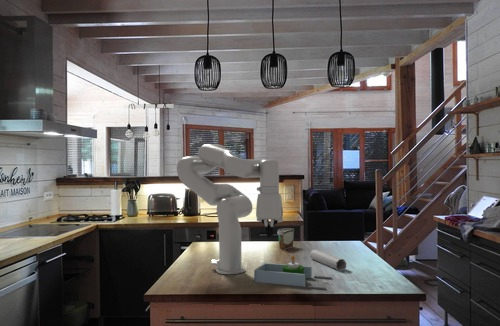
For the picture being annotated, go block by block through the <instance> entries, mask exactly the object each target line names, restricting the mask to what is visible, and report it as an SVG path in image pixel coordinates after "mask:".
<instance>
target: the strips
mask: <svg viewBox="0 0 500 326" xmlns="http://www.w3.org/2000/svg"><path fill="white" fill-rule="evenodd" d="M314 279H323V280H332V279H333V277H332V276H322V275H314ZM311 288H312V289H313V290H321V289H322V291H323V290H324V291H326V290H327V287H324V286H315V285H314V286H313V285H306V289H311Z"/></svg>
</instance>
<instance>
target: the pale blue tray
mask: <svg viewBox="0 0 500 326" xmlns="http://www.w3.org/2000/svg"><path fill="white" fill-rule="evenodd" d="M284 265H285V264H283V263H282V264H281V263H271V262H270V263H268V262H263V263H262V264H261V265H259V266H257V268H255V269H254V270H253V271H254V273H253V277H254V278H253V279H254V280H253V282H254V283H261V284H272V285H273V284H274V285H283V286H284V285H285V286H293V287H304V288H305V287H306V279H312V266H311V265H310V266H308V265H307V266H306V265H302V266H303V267H304V274H297V273H286V272H283V266H284Z"/></svg>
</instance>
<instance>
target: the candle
mask: <svg viewBox="0 0 500 326" xmlns="http://www.w3.org/2000/svg"><path fill="white" fill-rule="evenodd" d="M290 259H291V261H290V262H288V263H287V264H284V266H283V272H286V273H297V274H304V267H303V266H304V265H301V264H299V262H296V261H295V260H296V257H295V255H291V258H290Z"/></svg>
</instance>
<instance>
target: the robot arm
mask: <svg viewBox="0 0 500 326" xmlns="http://www.w3.org/2000/svg"><path fill="white" fill-rule="evenodd" d="M197 154H198V156H190V155H189V156H185V157H182V158H180V159H179V160H178V162H177V164H176V173H177V177H178V178H179V180H180V182H181V183H182V184H183V185H185V187H187V188H188V189H189V190H191V191H192V192H193V193H195V194H196V195H197V196H199V198H201V200H203V201H205V202H206V203H207V204H208V205H210V206H212V207H215V206H216V215H217V219H218V221H217V222H218V234H219V235H218V245H219V246H218V247H219V249H218V252H219V254H218V255H219V256H218V257H219V258H218V260H217V259H211V261H210V262H211V263H210V264H211V266H216V267H215V272H216V273H217V274H222V275H239V274H242V273H244V272H245V271H246V267H245V266H244V265H242V227H241V224H240V220H239V219H241V218H245V217H248V216H249V215H250V214H251V213H252V212H253V203H252V201H251V199H250V198H249V197H248V196H247V195H245V194H244V193H243V192H241V190H239V189H238V188H236V187H234V186H233V185H232V184H229V183H214V182H213V181H211V180H210V179H209V178H208V177H205V176H203V175H206V174H209V173H211V172H212V171H213V170H215V169H216V168H220V169H222V170H224V171H225V172H226V173H227V174H230V175H233V176H236V177H238V178H243V179H250V178H251V179H252V178H259V187H257V188H256V191H258V192H259V193H258V194H257V199H256V208H255V217H256V221H257V222H260V223H262V224H263V225H264V227H265V235H266V237H267V238H272V237H273V236H274V235H275V226H276V225H277V224H278V223H283V221H284V217H283V216H284V210H283V201H282V199H283V198H282V194H281V193H280V175H279V174H280V168H279V167H280V165H279V164H280V163H279V161H278V160H277V159H257V158H256V159H253V158H251V159H249V158H248V159H245V158H240V157H238V156H235V153H234V152H233V151H232V150H231V149H227V148H226V146H224V145H222V144H218V143H217V144H216V143H215V144H213V143H206V144H205V143H204V144H202V146H200V147H199V149H198V152H197Z"/></svg>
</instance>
